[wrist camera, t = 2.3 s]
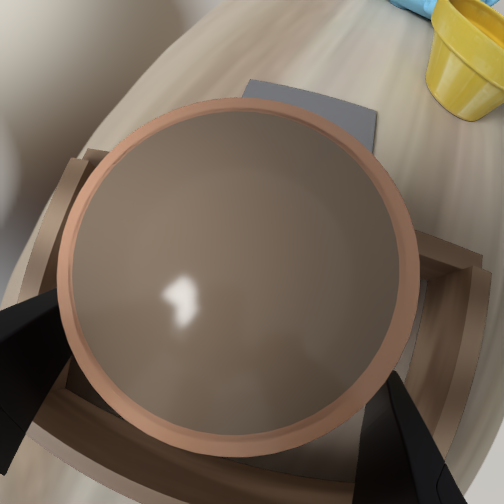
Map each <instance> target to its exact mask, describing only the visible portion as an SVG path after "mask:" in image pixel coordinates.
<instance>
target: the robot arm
mask: <svg viewBox="0 0 504 504" xmlns="http://www.w3.org/2000/svg"><path fill="white" fill-rule="evenodd" d="M72 354H73V352H72V350H71V348H70V345H69V343H68V340H67V337H66V334H65V331H64V327H63V324H62V320H61V315H60V309H59V303H58V294H57V288H54V289H52V290H49V291H47V292H44V293H42V294H39V295H37V296H34V297H32V298H30V299H27V300H25V301H22V302H20V303H18V304H15V305H13V306H11V307H8V308H6V309H4V310H1V311H0V474H2V475H3V476H5V474H6V473H7V471H8V468H9V466H10V464H11V462H12V460H13V458H14V456H15V454H16V452H17V450H18V448H19V446H20V444H21V442H22V440H23V438H24V436H25V434H26V432H27V430H28V429H29V427H30V425H31V423H32V421H33V419H34V418H35V416H36V414H37V412H38V410H39V409H40V407H41V405H42V403H43V402H44V400H45V398H46V396H47V395H48V393H49V391H50V390H51V388H52V386H53V385H54V383H55V381H56V380H57V378H58V376H59V375H60V373H61V372H62V370H63V368H64V367H65V365H66V364H67V362H68V360H69V359H70V357H71V356H72ZM444 463H445V461H444V459H443V457H442V455H441V453H440V451H439V449H438V447H437V445H436V443H435V441H434V439H433V437H432V435H431V433H430V431H429V429H428V428H427V426H426V424H425V422H424V420H423V418H422V416H421V414H420V413H419V411H418V409H417V407H416V405H415V403H414V402H413V400H412V398H411V396H410V394H409V393H408V391H407V389H406V387H405V386H404V384H403V382H402V380H401V379H400V377H399V375H398V373H397V372H396V371H394V370H392V372H391V373H390V375H389V377H388V378H387V380H386V381H385V383H384V384H383V385H382V386H381V387H380V389H379V390H378V391H377V392H376V393H375V395H374V396H373V397H372V398H371V399H370V400H369V401H368V402H367V403H366V407H365V412H364V418H363V423H362V428H361V434H360V443H359V453H358V462H357V471H356V478H355V485H354V492H353V499H352V504H467V502H466V500H465V499H464V497H463V495H462V493H461V492H460V490H459V488H458V486H457V485H456V483H455V481H454V479H453V477H452V475H451V473H450V471H449V469H448V467H447V465H446V464H444Z"/></svg>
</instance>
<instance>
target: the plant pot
mask: <svg viewBox="0 0 504 504" xmlns="http://www.w3.org/2000/svg"><path fill="white" fill-rule="evenodd" d="M431 23H432V26H433V28H434V30H435V31H434V36H433V42H432V47H431V53H430V58H429V62H428V67H427V71H426V83H427V86H428V88H429V90H430V92H431V94H432V95H433V96H434V98H435V99H436V100H437V101H438V102H439V103H440V104H441V105H442V106H443V107H444V108H445V109H446V110H448V111H449V112H450V113H452V114H453V115H455V116H457V117H459V118H461V119H463V120H467V121H476V120H478V119H480V118H481V117H483V116H484V115H486V114H487V113H489V112H490V111H492V110H493V109H495V108H497V107H498V106H500V105H501V104H503V103H504V17H503V16H502V15H501V14H500V13H498V12H497V11H496V10H494V9H493V8H491V7H490V6H488V5H487V4H485V3H484V2H482V1H480V0H437V2H436V5H435V7H434V10H433V13H432V16H431Z"/></svg>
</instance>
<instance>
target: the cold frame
mask: <svg viewBox="0 0 504 504" xmlns="http://www.w3.org/2000/svg"><path fill="white" fill-rule="evenodd" d="M108 153H109V152H108V151H101V150H95V149H87V151H86V153H85V155H84V157H83V159H76V158H71V159H70V161H69V163H68V165H67V167H66V169H65V171H64V173H63V175H62V177H61V179H60V181H59V184H58V186H57V188H56V190H55V193H54V195H53V197H52V199H51V202H50V204H49V207H48V209H47V211H46V214H45V216H44V219H43V222H42V224H41V227H40V229H39V232H38V235H37V238H36V241H35V243H34V246H33V249H32V252H31V255H30V259H29V262H28V265H27V268H26V272H25V275H24V278H23V282H22V286H21V289H20V293H19V297H18V301H17V304H18V303H20V302H22V301H25V300H27V299H30V298H32V297H34V296H37V295H39V294H42V293H44V292H47V291H49V290H52V289H54V288H57V266H58V255H59V249H60V244H61V240H62V235H63V231H64V228H65V225H66V222H67V219H68V216H69V213H70V211H71V209H72V207H73V204H74V202H75V200H76V198H77V196H78V194H79V192H80V190H81V189H82V187H83V186H84V184H85V183H86V181H87V179H88V178H89V176H90V175H91V173H92V172H93V171H94V170H95V168H96V167H97V166H98V165H99V163H100V162H101V161H102V160H103V159H104V157H105V156H106V155H107V154H108ZM414 231H415V235H416V240H417V246H418V253H419V260H420V278H422V279H425V280H428V285H427V291H426V297H425V302H424V308H423V313H422V318H421V322H420V327H419V331H418V336H417V340H416V344H415V348H414V352H413V356H412V360H411V363H410V367H409V370H408V374H407V377H406V381H405V384H404V386H405V387H406V389H407V391H408V393H409V394H410V396H411V398H412V400H413V402H414V403H415V405H416V407H417V409H418V411H419V413H420V414H421V416H422V418H423V420H424V422H425V424H426V426H427V428H428V429H429V431H430V433H431V435H432V437H433V439H434V441H435V443H436V445H437V447H438V449H439V451H440V453H441V455H442V457H443V459H444V460H445V458H446V455H447V453H448V451H449V448H450V446H451V444H452V441H453V439H454V436H455V433H456V431H457V428H458V425H459V423H460V420H461V417H462V414H463V411H464V408H465V405H466V402H467V399H468V396H469V392H470V389H471V385H472V382H473V378H474V374H475V371H476V367H477V362H478V358H479V354H480V349H481V344H482V339H483V334H484V329H485V323H486V317H487V310H488V303H489V295H490V285H491V274H492V273H491V272H489V271H486V270H483V269H482V258H483V255H480V254H478V253H475V252H473V251H470V250H468V249H465V248H463V247H460V246H457V245H455V244H452V243H450V242H447V241H444V240H442V239H439V238H436V237H434V236H431V235H428V234H425V233H423V232H420V231H417V230H414ZM70 361H71V357H70V359H69V360H68V362H67V364H66V365H65V367H64V368H63V370H62V372H61V373H60V375H59V376H58V378H57V380H56V381H55V383H54V385H53V386H52V388H51V390H50V391H49V393H48V395H47V396H46V398H45V400H44V402H43V403H42V405H41V407H40V409H39V410H38V412H37V414H36V416H35V418H34V419H33V421H32V423H31V425H30V427H29V429H28V430H27V432H26V435H27V436H28V437H30V438H31V439H32V440H34V441H35V442H36V443H38V444H39V445H40V446H42V447H43V448H44V449H46V450H47V451H49V452H50V453H52V454H53V455H54V456H56V457H57V458H59V459H60V460H62V461H63V462H65V463H67V464H68V465H70V466H71V467H73V468H74V469H76V470H78V471H79V472H81V473H83V474H84V475H86V476H88V477H90V478H91V479H93V480H95V481H97V482H99V483H100V484H102V485H104V486H106V487H108V488H110V489H112V490H114V491H116V492H118V493H120V494H122V495H124V496H126V497H128V498H130V499H132V500H135V501H137V502H139V503H141V504H352V499H353V492H354V485H355V483H348V482H337V481H329V480H321V479H314V478H307V477H301V476H295V475H290V474H284V473H279V472H274V471H270V470H265V469H261V468H257V467H253V466H249V465H245V464H241V463H237V462H234V461H230V460H226V459H223V458H220V457H216V456H212V455H206V454H200V453H194V452H191V451H188V450H184V449H181V448H178V447H175V446H172V445H169V444H167V443H165V442H162V441H160V440H158V439H156V438H154V437H152V436H150V435H148V434H146V433H145V432H143V431H142V430H140V429H138V428H137V427H135V426H134V425H132V424H131V423H129V422H126V421H124V420H122V419H120V418H118V417H116V416H114V415H112V414H110V413H108V412H106V411H104V410H103V409H101V408H99V407H97V406H95V405H93V404H91V403H90V402H88V401H86V400H84V399H82V398H81V397H79V396H77V395H76V394H74V393H72V392H71V391H69V390H67V389H66V388H65V386H66V381H67V376H68V371H69V366H70Z"/></svg>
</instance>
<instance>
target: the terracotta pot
mask: <svg viewBox="0 0 504 504" xmlns="http://www.w3.org/2000/svg"><path fill="white" fill-rule="evenodd" d="M419 289H420V260H419V253H418V246H417V240H416V235H415V231H414V228H413V225H412V221H411V218H410V215H409V212H408V210H407V207H406V205H405V203H404V201H403V198H402V196H401V194H400V192H399V190H398V189H397V187H396V185H395V184H394V182H393V180H392V179H391V177H390V176H389V174H388V173H387V171H386V170H385V169H384V167H383V166H382V165H381V164H380V163H379V161H378V160H377V159H376V158H375V157H374V155H373V154H372V153H371V152H370V151H369V150H368V149H367V148H366V147H364V146H363V145H362V144H361V143H360V142H359V141H358V140H357V139H356V138H354V137H353V136H352V135H350V134H349V133H348V132H346V131H345V130H344V129H342V128H341V127H339V126H338V125H336V124H334V123H333V122H331V121H329V120H327V119H325V118H324V117H322V116H320V115H318V114H315V113H313V112H310V111H308V110H305V109H303V108H300V107H297V106H294V105H290V104H287V103H283V102H279V101H273V100H267V99H260V98H237V97H236V98H223V99H214V100H208V101H203V102H199V103H194V104H191V105H188V106H184V107H181V108H178V109H175V110H173V111H170V112H168V113H166V114H164V115H162V116H159V117H157V118H155V119H153V120H152V121H150V122H148V123H147V124H145V125H143V126H142V127H140V128H138V129H137V130H135V131H134V132H133V133H131V134H130V135H129V136H128V137H126V138H125V139H124V140H122V141H121V142H120V143H119V144H118V145H117V146H116V147H115V148H114V149H113V150H112V151H110V152H109V153H108V154H107V155H106V156H105V157H104V159H103V160H102V161H101V162H100V163H99V165H98V166H97V167H96V168H95V170H94V171H93V172H92V173H91V175H90V176H89V178H88V179H87V181H86V183H85V184H84V186H83V187H82V189H81V190H80V192H79V194H78V196H77V198H76V200H75V202H74V204H73V207H72V209H71V211H70V213H69V216H68V219H67V222H66V225H65V228H64V231H63V235H62V240H61V244H60V249H59V255H58V266H57V294H58V303H59V309H60V315H61V320H62V324H63V327H64V331H65V334H66V337H67V340H68V343H69V345H70V348H71V350H72V352H73V354H74V356H75V358H76V361H77V363H78V365H79V366H80V368H81V370H82V371H83V373H84V374H85V376H86V377H87V379H88V380H89V382H90V384H91V385H92V386H93V387H94V389H95V390H96V391H97V392H98V393H99V395H100V396H101V397H102V398H103V399H104V400H105V401H106V403H107V404H108V405H109V406H111V407H112V408H113V409H114V410H115V411H116V412H117V413H118V414H119V415H121V416H122V417H123V418H124V419H125V420H127V421H128V422H129V423H131V424H132V425H134V426H135V427H137V428H138V429H140V430H142V431H143V432H145V433H146V434H148V435H150V436H152V437H154V438H156V439H158V440H160V441H162V442H165V443H167V444H169V445H172V446H175V447H178V448H181V449H184V450H188V451H191V452H194V453H200V454H206V455H212V456H219V457H252V456H260V455H267V454H274V453H278V452H281V451H285V450H288V449H292V448H295V447H298V446H301V445H304V444H306V443H308V442H310V441H312V440H315V439H317V438H319V437H321V436H323V435H325V434H327V433H328V432H330V431H332V430H333V429H335V428H336V427H338V426H339V425H341V424H342V423H344V422H345V421H347V420H348V419H349V418H351V417H352V416H353V415H354V414H355V413H356V412H357V411H359V410H360V409H361V408H362V407H363V406H364V405H365V404H366V403H367V402H368V401H369V400H370V399H371V398H372V397H373V396H374V395H375V393H376V392H377V391H378V390H379V389H380V387H381V386H382V385H383V384H384V383H385V381H386V380H387V378H388V377H389V375H390V373H391V372H392V370H393V369H394V367H395V365H396V364H397V362H398V360H399V359H400V357H401V354H402V352H403V350H404V348H405V345H406V343H407V341H408V338H409V336H410V333H411V329H412V326H413V322H414V319H415V315H416V311H417V304H418V297H419Z"/></svg>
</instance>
